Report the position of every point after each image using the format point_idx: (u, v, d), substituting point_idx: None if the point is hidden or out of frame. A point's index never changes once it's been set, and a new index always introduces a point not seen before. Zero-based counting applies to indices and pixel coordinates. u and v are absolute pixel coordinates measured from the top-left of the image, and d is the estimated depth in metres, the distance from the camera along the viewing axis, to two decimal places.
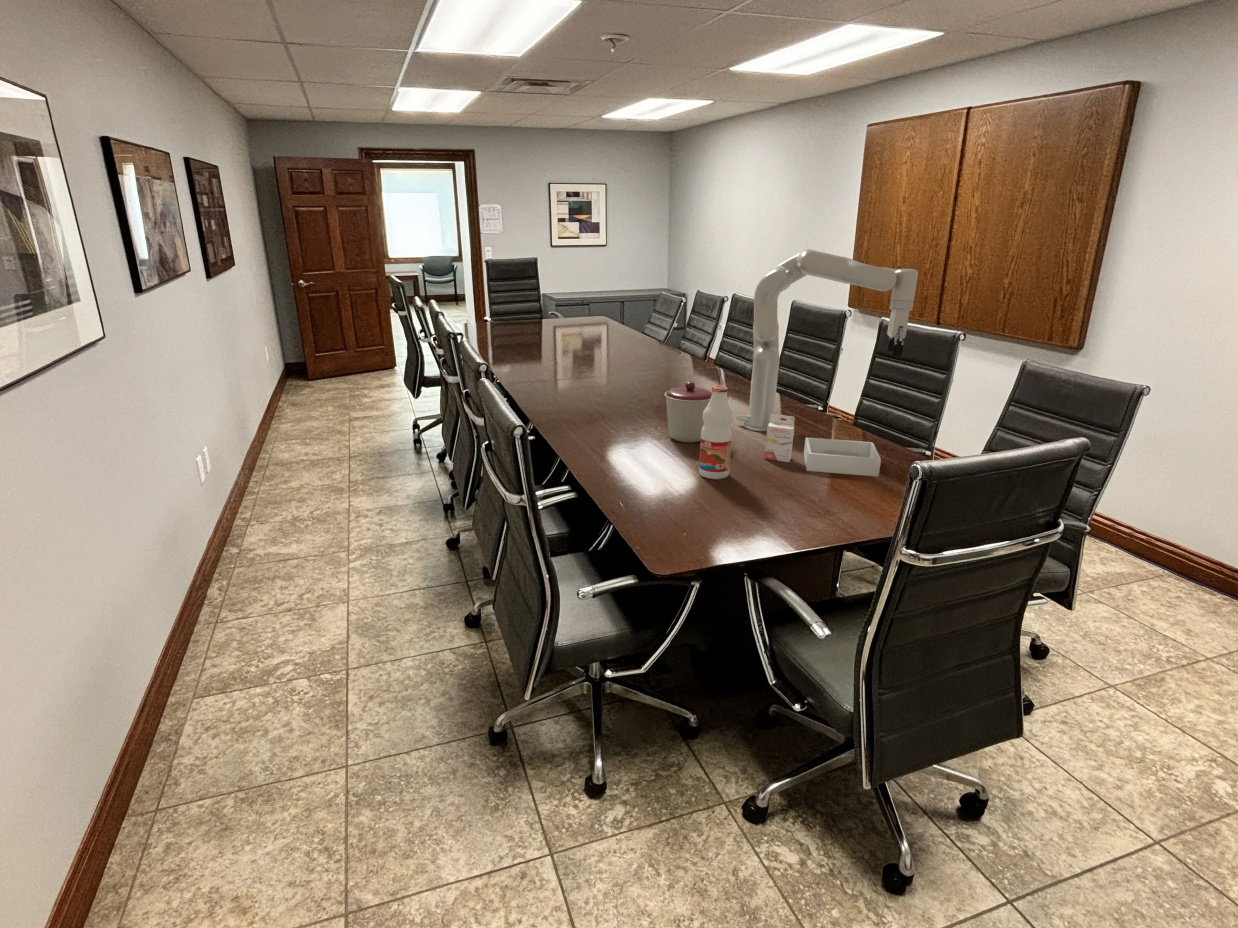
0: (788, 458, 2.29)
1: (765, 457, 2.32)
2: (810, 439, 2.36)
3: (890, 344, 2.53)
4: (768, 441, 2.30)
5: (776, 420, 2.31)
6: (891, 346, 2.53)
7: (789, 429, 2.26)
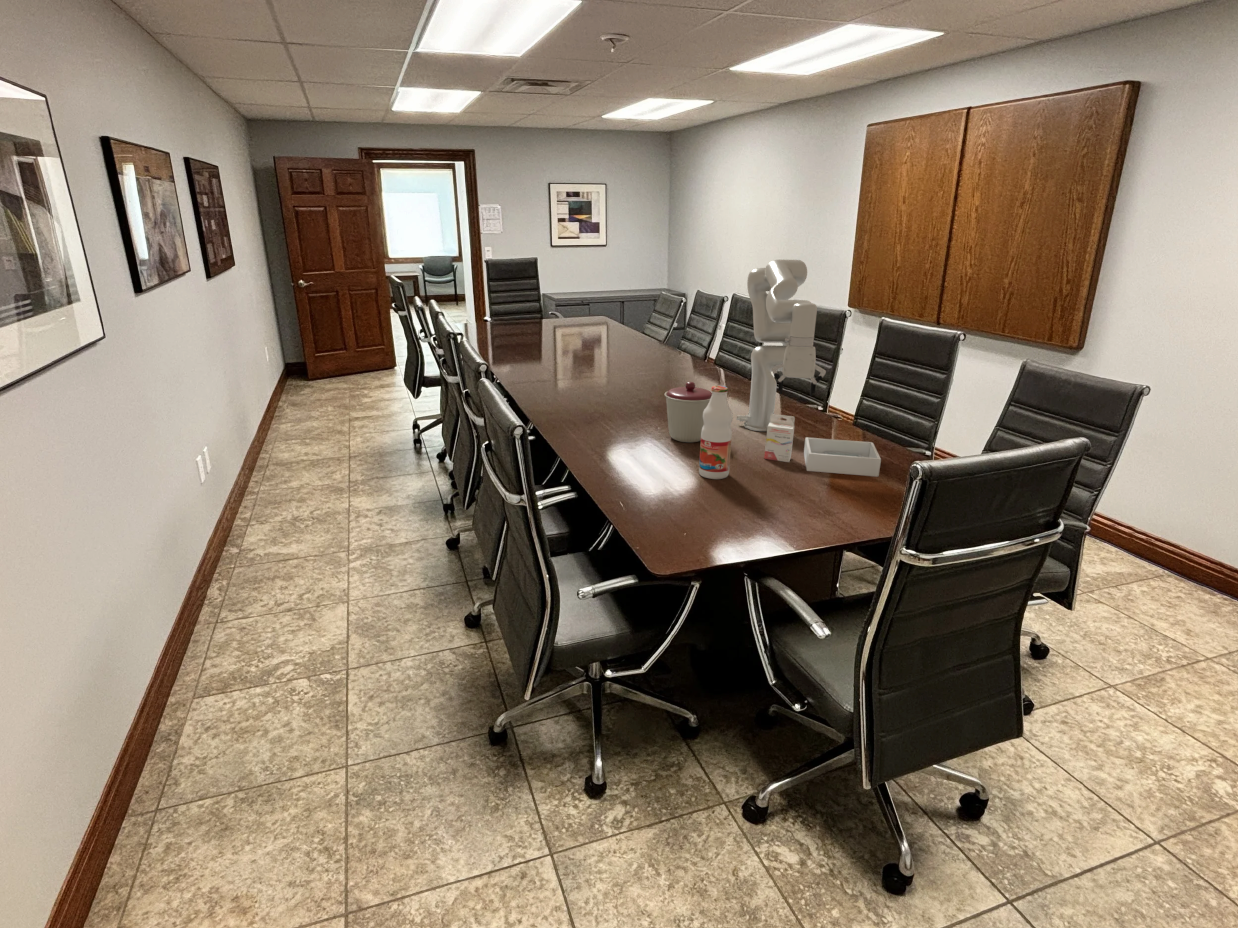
0: (788, 458, 2.29)
1: (765, 457, 2.32)
2: (810, 439, 2.36)
3: (782, 386, 2.27)
4: (768, 441, 2.30)
5: (776, 420, 2.31)
6: (782, 388, 2.28)
7: (789, 429, 2.26)
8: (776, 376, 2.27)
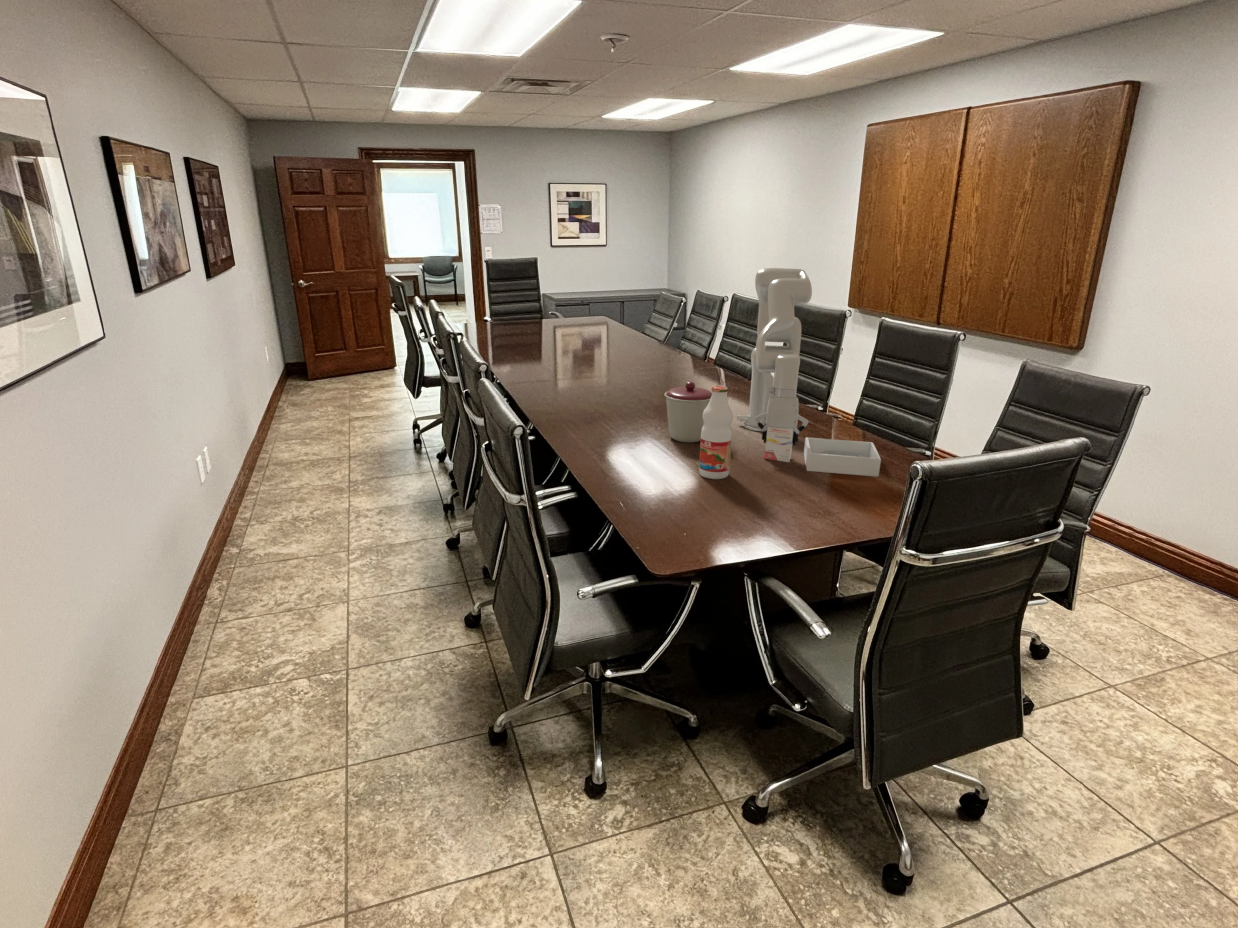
0: (788, 458, 2.29)
1: (765, 457, 2.32)
2: (810, 439, 2.36)
3: (766, 435, 2.30)
4: (768, 441, 2.29)
5: None
6: None
7: (789, 429, 2.26)
8: (760, 426, 2.29)
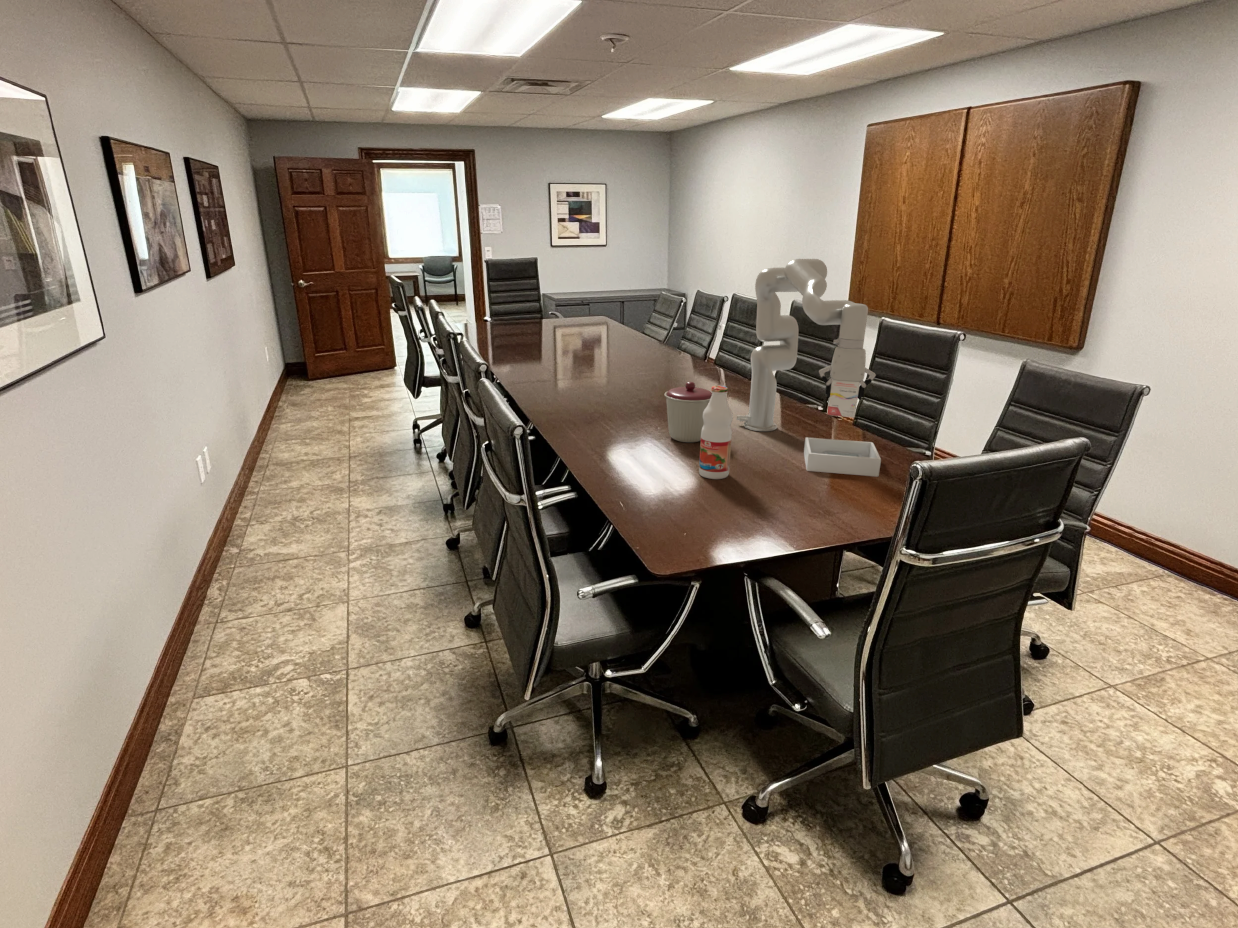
0: (853, 413, 2.19)
1: (829, 413, 2.22)
2: (810, 439, 2.36)
3: (830, 389, 2.20)
4: (833, 396, 2.20)
5: None
6: (830, 391, 2.21)
7: (855, 382, 2.16)
8: (824, 379, 2.20)
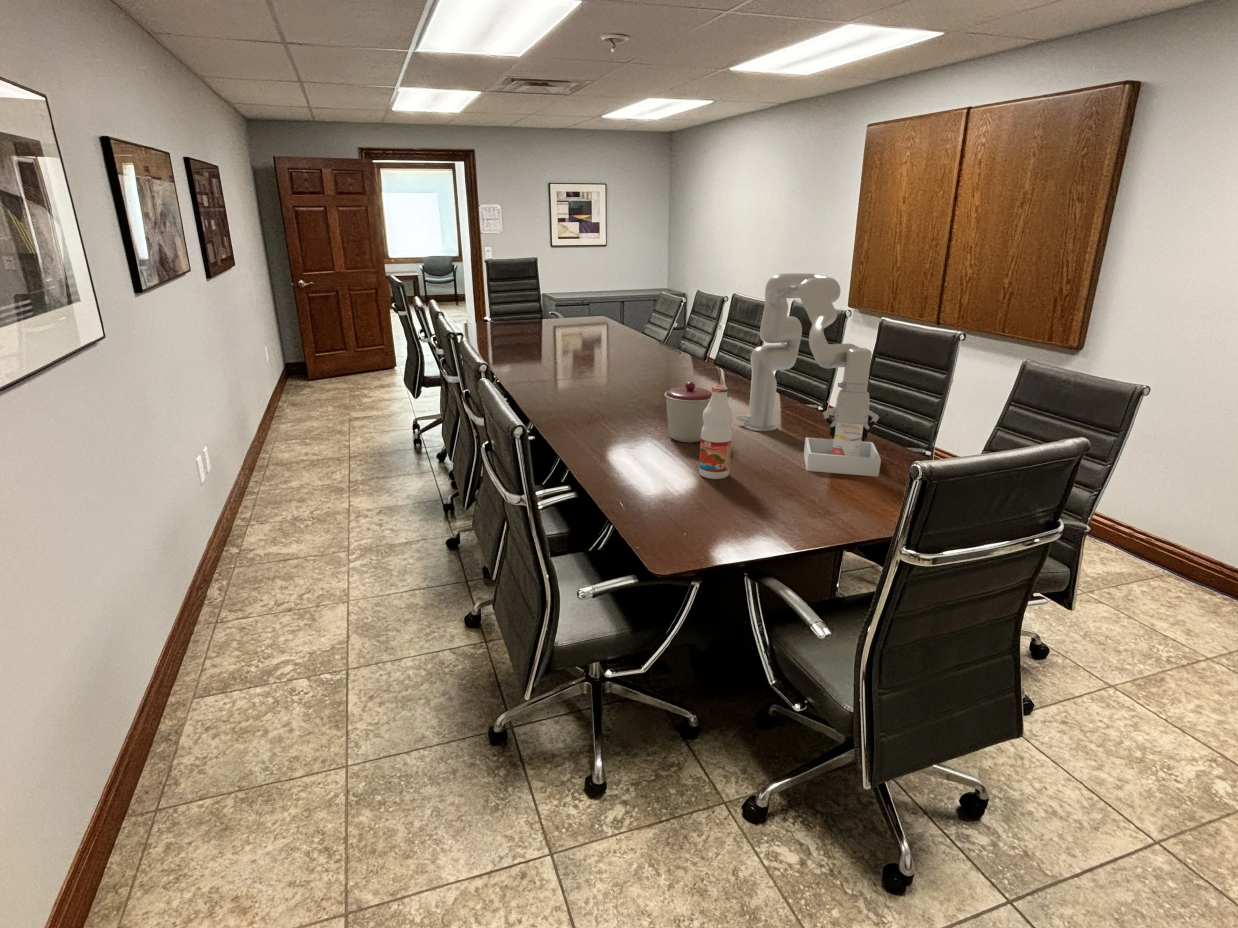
0: (857, 454, 2.23)
1: (833, 453, 2.26)
2: (810, 439, 2.36)
3: (834, 431, 2.24)
4: (837, 437, 2.24)
5: None
6: (834, 433, 2.25)
7: (859, 425, 2.20)
8: (828, 421, 2.23)
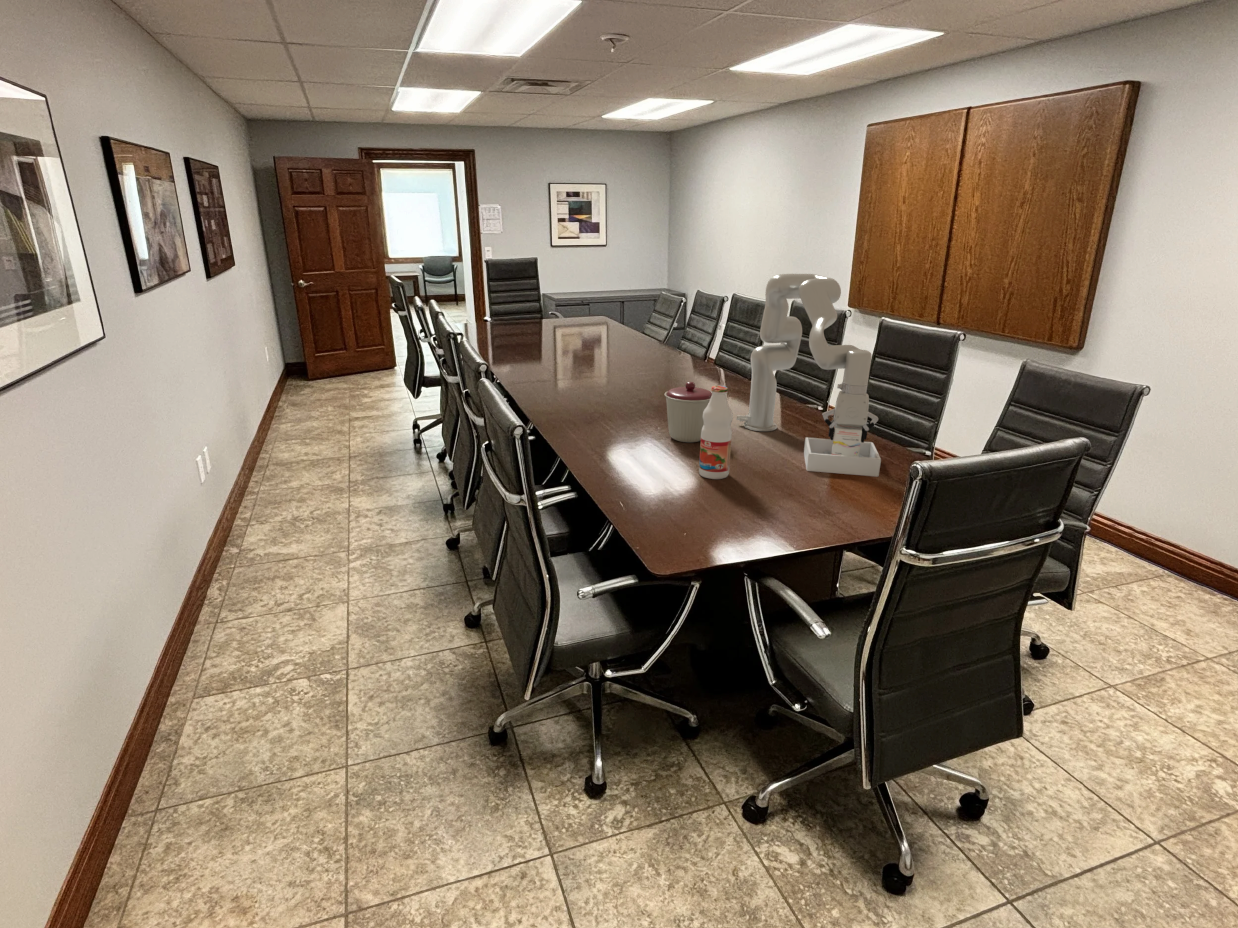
0: None
1: None
2: (810, 439, 2.36)
3: (833, 432, 2.24)
4: (836, 444, 2.25)
5: None
6: None
7: (858, 431, 2.21)
8: (827, 422, 2.24)
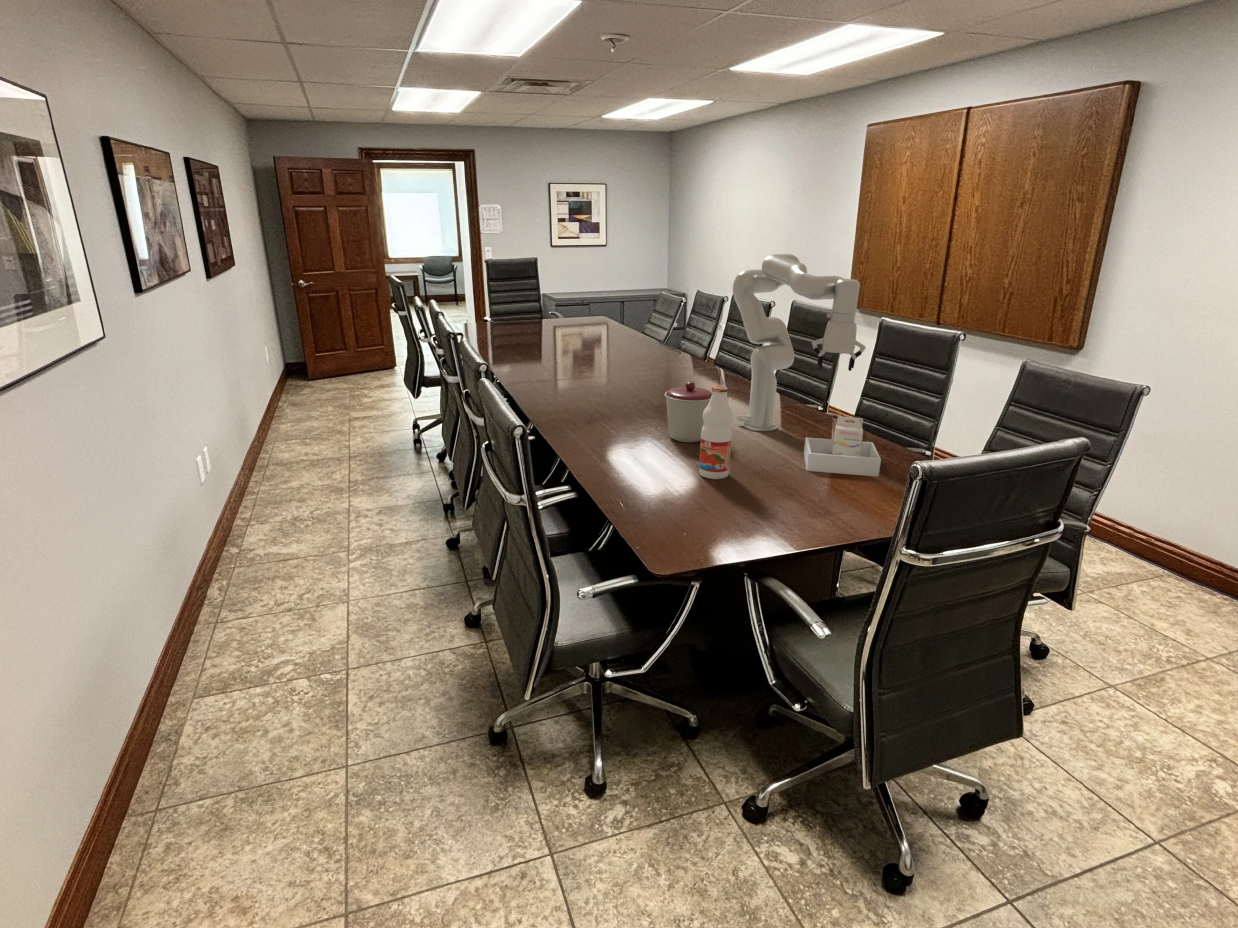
0: None
1: None
2: (810, 439, 2.36)
3: (822, 361, 2.33)
4: (837, 444, 2.25)
5: (843, 422, 2.26)
6: None
7: (859, 431, 2.21)
8: (816, 351, 2.32)
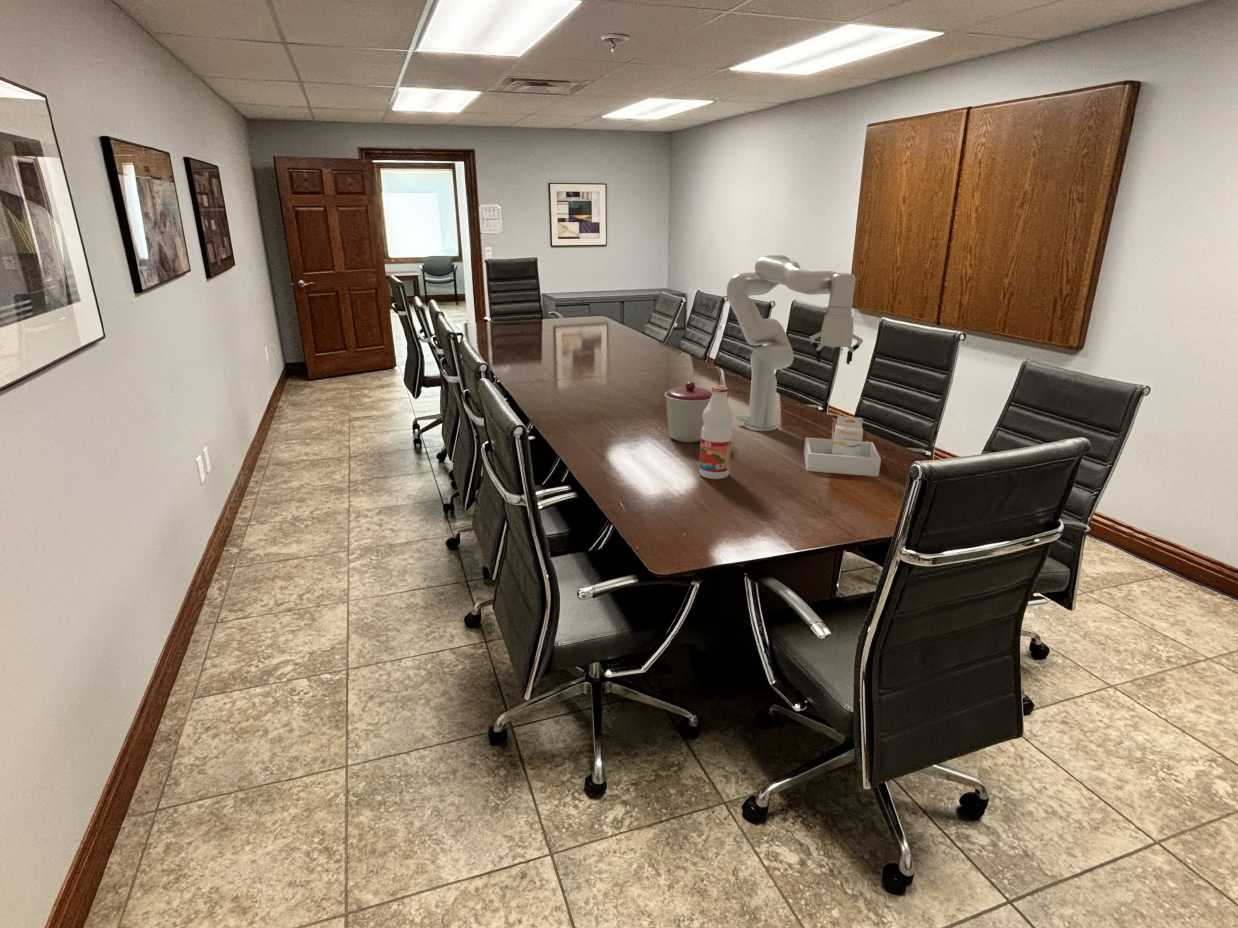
0: None
1: None
2: (810, 439, 2.36)
3: (820, 355, 2.35)
4: (837, 444, 2.25)
5: (843, 422, 2.26)
6: None
7: (859, 431, 2.21)
8: (814, 345, 2.34)
